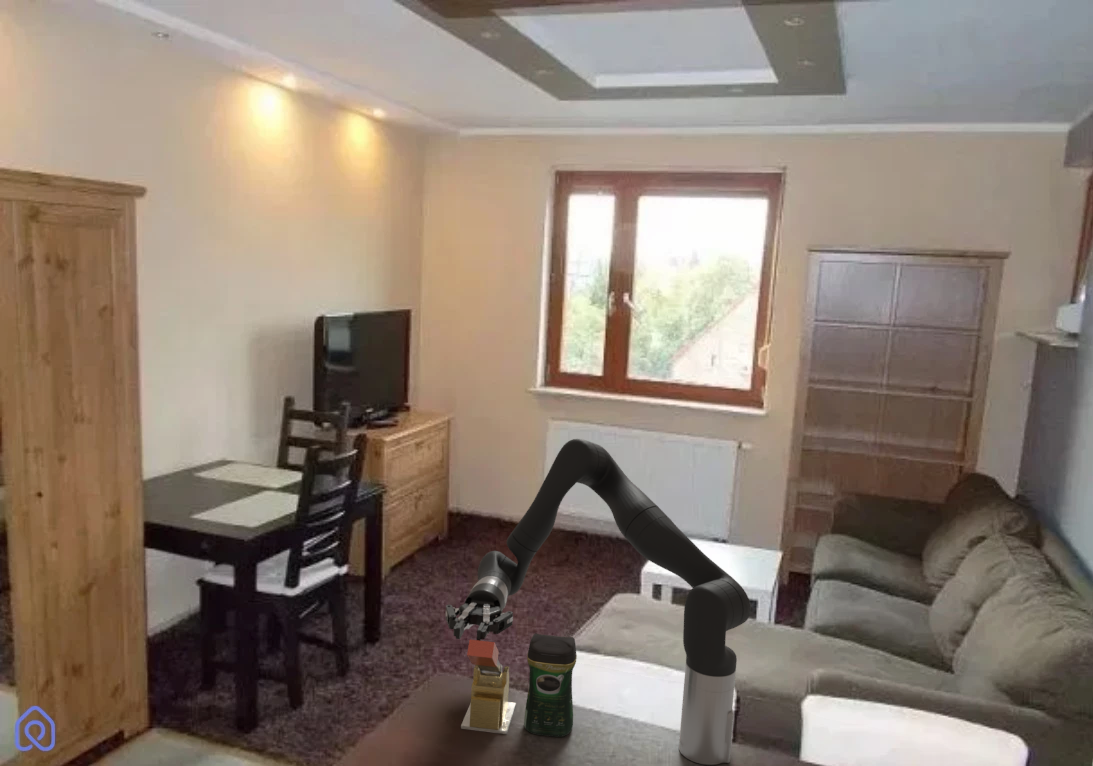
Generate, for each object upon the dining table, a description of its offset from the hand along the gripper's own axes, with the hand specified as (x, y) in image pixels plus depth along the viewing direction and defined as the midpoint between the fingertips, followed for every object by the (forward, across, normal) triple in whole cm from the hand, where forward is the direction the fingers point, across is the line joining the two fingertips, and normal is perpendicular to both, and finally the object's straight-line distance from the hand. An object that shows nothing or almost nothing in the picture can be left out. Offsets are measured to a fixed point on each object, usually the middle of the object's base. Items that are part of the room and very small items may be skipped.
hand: (468, 635), depth 149 cm
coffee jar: (-11, +15, +22) cm, 29 cm away
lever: (-13, +3, +13) cm, 18 cm away
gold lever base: (-12, +3, +22) cm, 25 cm away
